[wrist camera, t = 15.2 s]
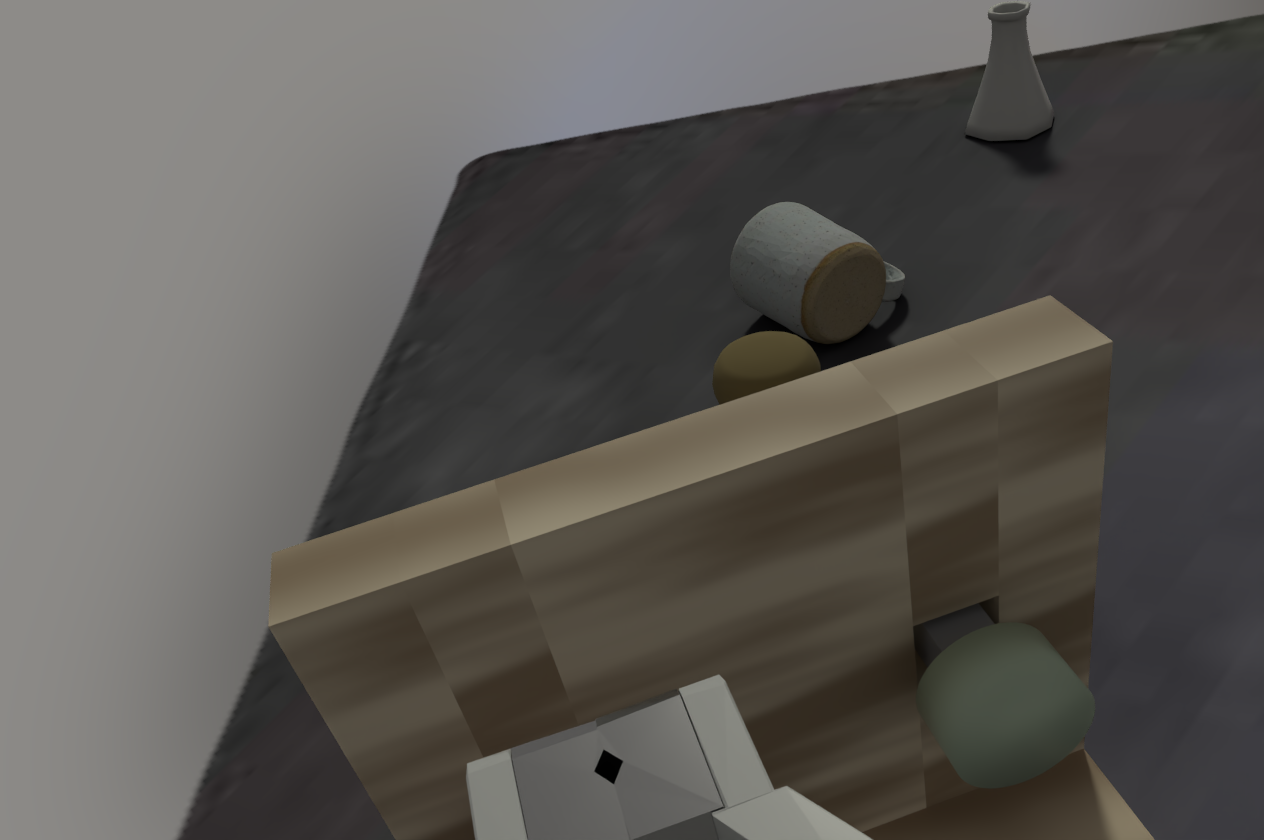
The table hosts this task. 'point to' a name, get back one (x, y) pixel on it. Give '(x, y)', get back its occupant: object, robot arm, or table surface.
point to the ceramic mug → (810, 273)
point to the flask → (1010, 82)
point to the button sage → (998, 697)
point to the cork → (761, 364)
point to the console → (739, 585)
